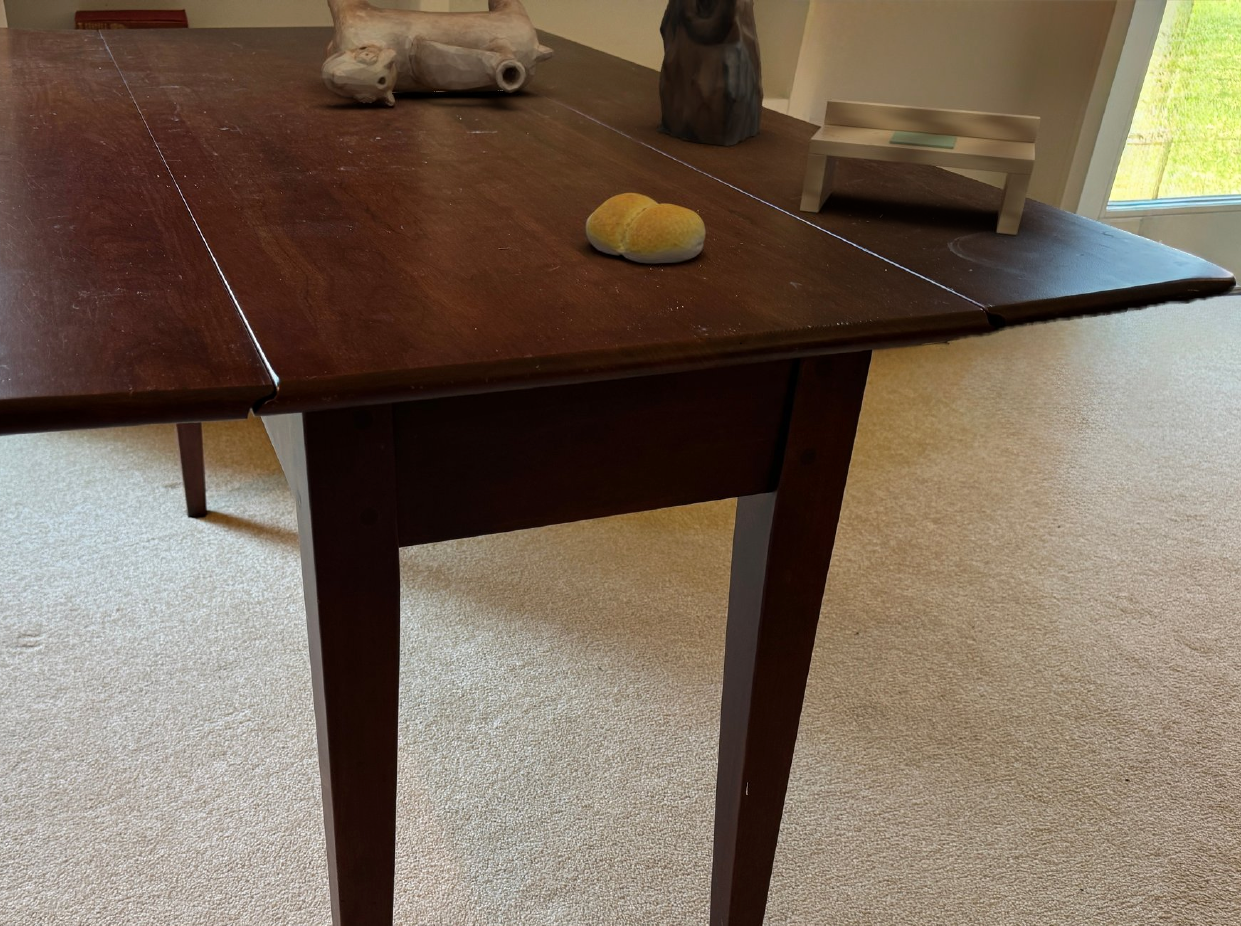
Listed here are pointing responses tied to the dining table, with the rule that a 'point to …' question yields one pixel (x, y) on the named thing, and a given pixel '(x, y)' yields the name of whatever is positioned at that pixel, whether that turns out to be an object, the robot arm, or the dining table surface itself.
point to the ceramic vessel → (429, 50)
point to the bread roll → (645, 230)
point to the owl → (710, 71)
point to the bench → (924, 147)
